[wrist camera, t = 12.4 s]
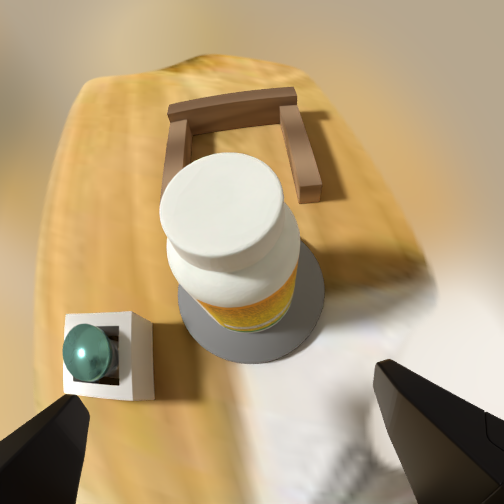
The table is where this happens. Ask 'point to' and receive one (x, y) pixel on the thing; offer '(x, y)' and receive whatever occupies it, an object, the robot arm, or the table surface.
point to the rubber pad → (272, 339)
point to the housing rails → (238, 116)
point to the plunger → (90, 353)
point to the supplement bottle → (232, 240)
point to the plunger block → (130, 357)
